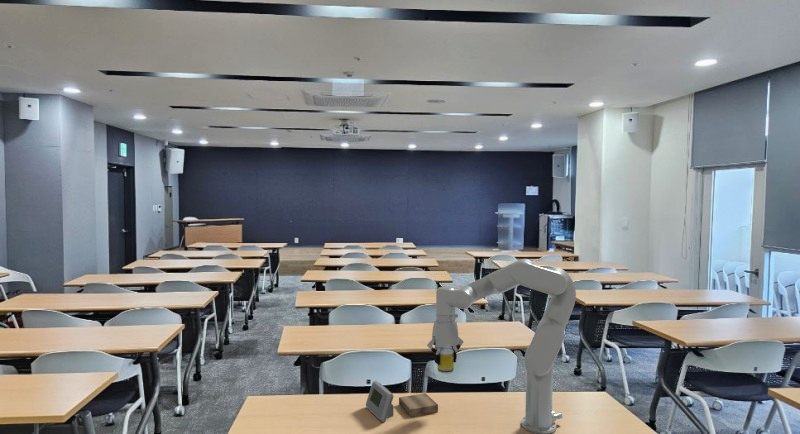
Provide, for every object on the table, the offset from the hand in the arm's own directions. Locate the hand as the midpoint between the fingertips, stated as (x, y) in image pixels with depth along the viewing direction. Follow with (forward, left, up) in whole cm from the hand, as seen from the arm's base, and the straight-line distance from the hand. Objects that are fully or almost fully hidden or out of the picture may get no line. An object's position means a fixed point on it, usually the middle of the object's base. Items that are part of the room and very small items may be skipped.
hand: (445, 362), depth 185 cm
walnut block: (+9, -6, -20) cm, 22 cm away
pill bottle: (0, 0, -4) cm, 4 cm away
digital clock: (+26, -7, -20) cm, 33 cm away
